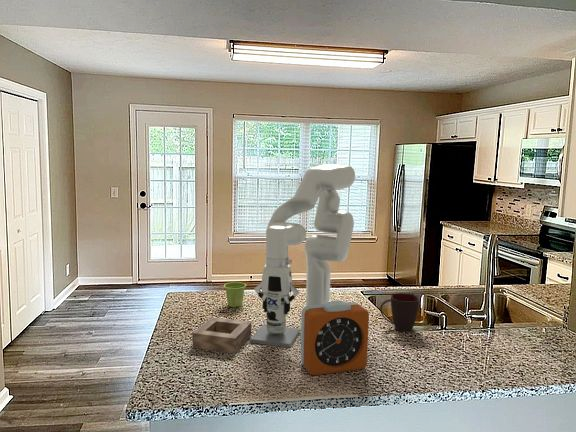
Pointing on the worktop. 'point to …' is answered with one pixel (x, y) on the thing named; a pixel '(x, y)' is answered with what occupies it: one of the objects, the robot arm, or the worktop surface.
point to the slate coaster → (275, 337)
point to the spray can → (275, 307)
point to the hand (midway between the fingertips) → (276, 311)
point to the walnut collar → (222, 335)
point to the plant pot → (235, 293)
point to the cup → (403, 310)
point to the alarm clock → (334, 337)
